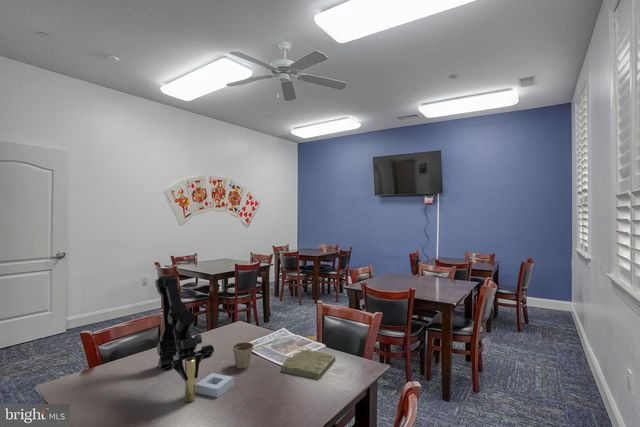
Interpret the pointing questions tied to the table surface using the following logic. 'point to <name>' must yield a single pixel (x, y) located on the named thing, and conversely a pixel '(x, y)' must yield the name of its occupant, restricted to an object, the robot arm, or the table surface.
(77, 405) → the table surface
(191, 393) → the pin
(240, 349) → the flower pot
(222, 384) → the socket block
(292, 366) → the decorative tile
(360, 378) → the table surface
